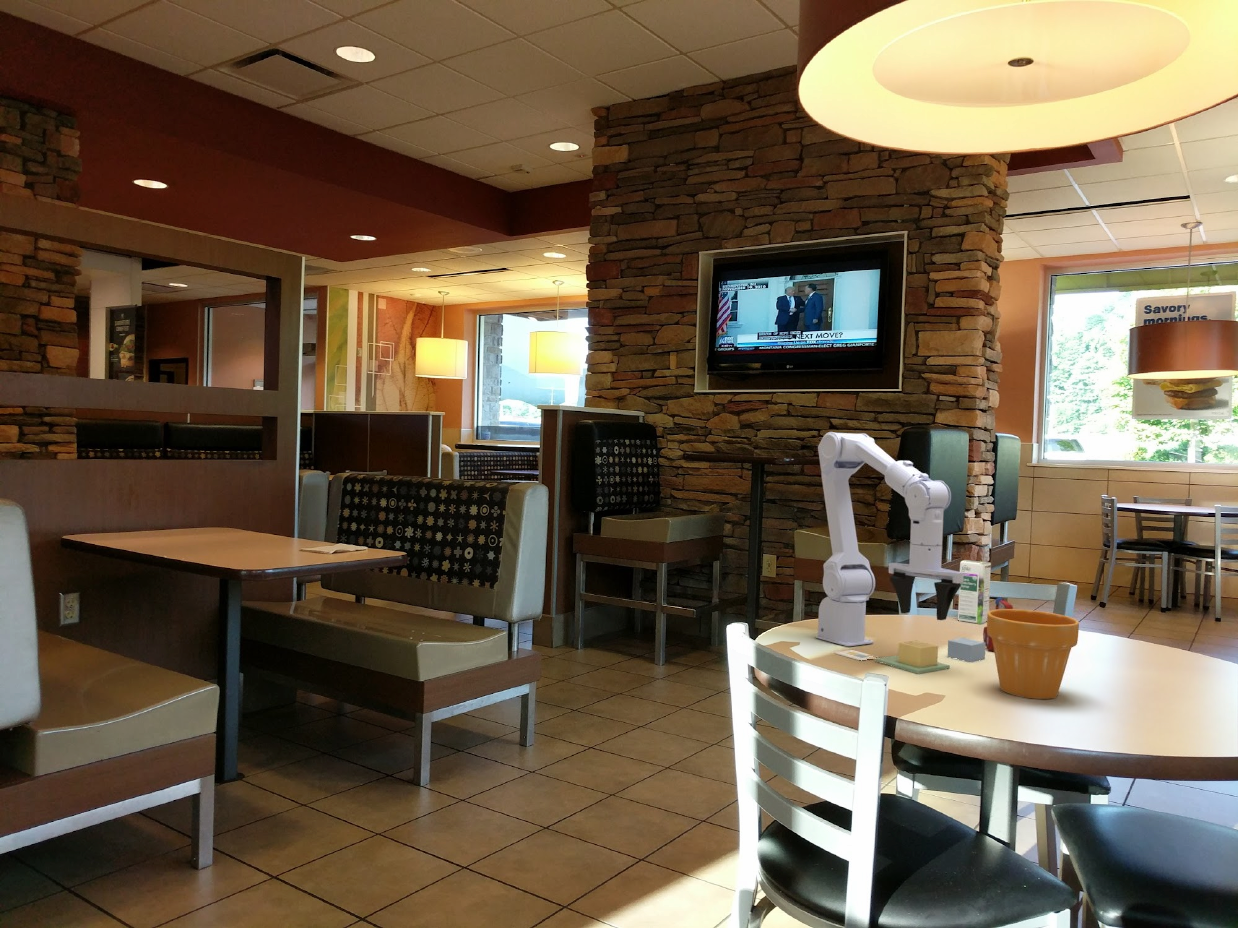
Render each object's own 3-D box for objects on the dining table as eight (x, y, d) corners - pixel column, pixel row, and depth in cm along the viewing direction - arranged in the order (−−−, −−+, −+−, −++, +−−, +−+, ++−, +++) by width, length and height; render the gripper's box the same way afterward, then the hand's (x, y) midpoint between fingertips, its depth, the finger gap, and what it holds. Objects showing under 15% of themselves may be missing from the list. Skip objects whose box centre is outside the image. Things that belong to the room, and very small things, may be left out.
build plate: (875, 661, 171) (875, 658, 171) (906, 656, 176) (906, 653, 176) (918, 673, 163) (918, 670, 162) (949, 668, 167) (949, 665, 167)
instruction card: (834, 653, 177) (834, 651, 177) (852, 650, 180) (852, 649, 180) (861, 661, 171) (861, 659, 171) (879, 658, 174) (879, 657, 174)
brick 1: (898, 661, 169) (898, 642, 169) (915, 658, 172) (916, 640, 172) (919, 667, 165) (920, 648, 165) (937, 664, 168) (938, 645, 168)
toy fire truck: (1015, 644, 192) (1017, 595, 191) (1026, 657, 180) (1028, 605, 179) (980, 641, 193) (982, 593, 193) (989, 653, 181) (991, 602, 181)
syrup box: (956, 620, 216) (959, 561, 215) (965, 617, 220) (967, 559, 220) (981, 624, 212) (983, 563, 212) (989, 621, 217) (991, 561, 216)
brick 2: (947, 657, 177) (948, 640, 177) (961, 654, 180) (962, 637, 180) (970, 663, 173) (971, 645, 173) (984, 660, 176) (985, 642, 176)
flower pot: (1062, 685, 158) (1065, 611, 158) (1087, 707, 144) (1090, 627, 144) (977, 678, 161) (980, 606, 160) (993, 699, 147) (996, 621, 147)
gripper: (973, 547, 166) (970, 620, 166) (904, 539, 177) (901, 607, 177) (952, 549, 161) (949, 624, 161) (883, 541, 172) (880, 611, 173)
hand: (923, 616), depth 169 cm, fingers open, 7 cm apart
